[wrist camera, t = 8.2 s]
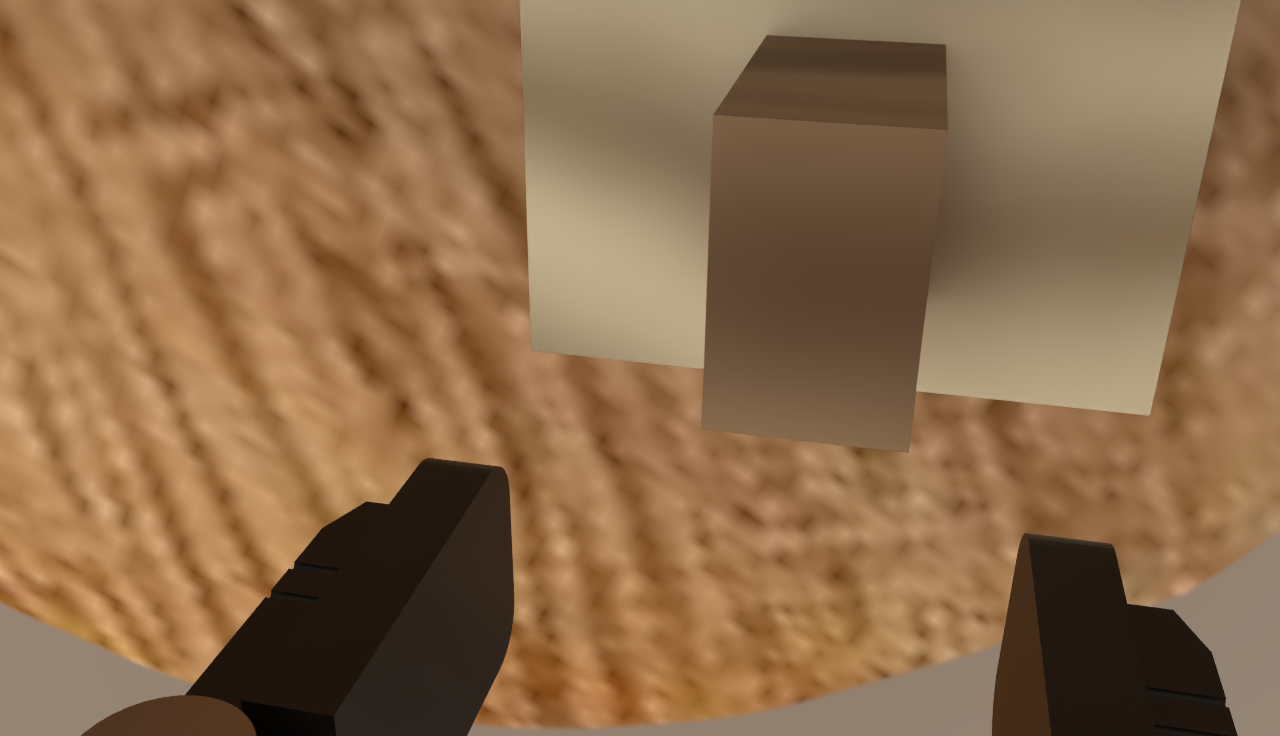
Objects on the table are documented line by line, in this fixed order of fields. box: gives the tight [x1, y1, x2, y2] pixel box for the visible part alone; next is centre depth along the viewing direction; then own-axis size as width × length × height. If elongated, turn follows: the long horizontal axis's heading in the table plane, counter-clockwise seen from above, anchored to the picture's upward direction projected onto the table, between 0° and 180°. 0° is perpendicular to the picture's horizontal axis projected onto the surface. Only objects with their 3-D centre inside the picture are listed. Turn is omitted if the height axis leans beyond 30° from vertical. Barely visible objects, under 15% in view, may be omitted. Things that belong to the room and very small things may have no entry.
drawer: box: [520, 0, 1241, 453], centre depth 20 cm, size 14×13×8 cm
